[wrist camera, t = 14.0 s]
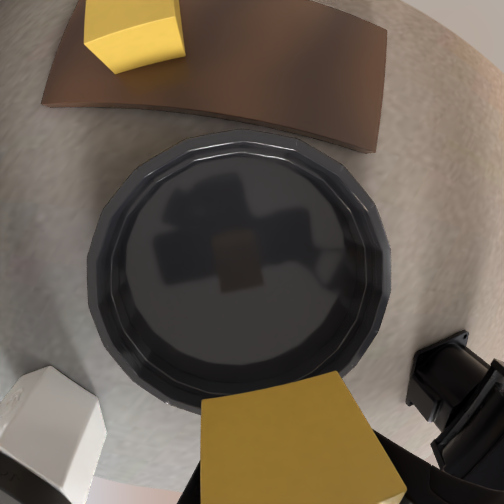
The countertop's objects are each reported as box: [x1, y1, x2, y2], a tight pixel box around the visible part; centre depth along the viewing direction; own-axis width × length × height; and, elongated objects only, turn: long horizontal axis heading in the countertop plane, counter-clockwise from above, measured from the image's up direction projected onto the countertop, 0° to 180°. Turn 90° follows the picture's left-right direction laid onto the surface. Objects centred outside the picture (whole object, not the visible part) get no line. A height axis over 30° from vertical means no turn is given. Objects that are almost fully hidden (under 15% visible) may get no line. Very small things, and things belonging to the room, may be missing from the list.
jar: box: [0, 366, 107, 504], centre depth 13 cm, size 9×8×12 cm
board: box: [41, 0, 387, 154], centre depth 13 cm, size 20×9×1 cm, turn 79°
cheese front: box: [200, 371, 407, 504], centre depth 6 cm, size 4×4×4 cm
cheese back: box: [84, 0, 186, 74], centre depth 10 cm, size 4×4×4 cm
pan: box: [87, 129, 391, 415], centre depth 16 cm, size 16×16×3 cm
